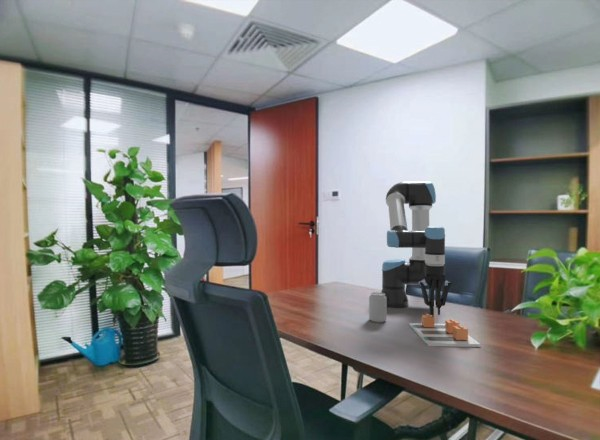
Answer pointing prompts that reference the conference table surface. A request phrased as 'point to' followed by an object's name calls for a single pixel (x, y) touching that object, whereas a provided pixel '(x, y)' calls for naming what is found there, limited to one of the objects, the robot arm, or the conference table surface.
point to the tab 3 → (460, 332)
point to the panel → (441, 336)
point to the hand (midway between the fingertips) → (434, 322)
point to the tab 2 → (450, 325)
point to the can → (377, 307)
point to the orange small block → (427, 320)
